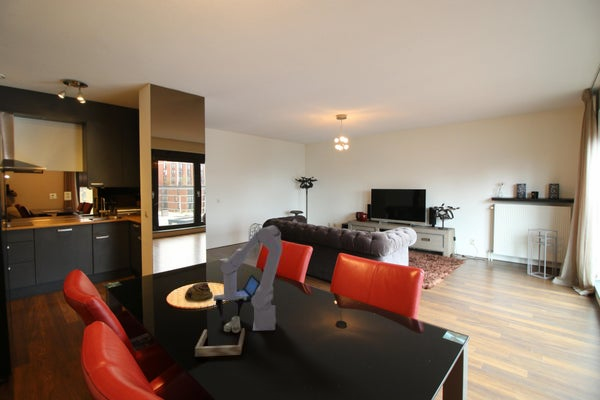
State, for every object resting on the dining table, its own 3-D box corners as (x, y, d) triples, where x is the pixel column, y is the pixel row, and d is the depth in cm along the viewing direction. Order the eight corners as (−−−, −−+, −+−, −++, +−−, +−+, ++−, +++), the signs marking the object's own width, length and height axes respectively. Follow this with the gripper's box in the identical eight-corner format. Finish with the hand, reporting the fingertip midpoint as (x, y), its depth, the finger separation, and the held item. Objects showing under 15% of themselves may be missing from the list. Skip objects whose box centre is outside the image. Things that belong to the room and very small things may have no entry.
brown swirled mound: (208, 301, 146) (208, 286, 145) (180, 301, 146) (180, 286, 146) (216, 292, 159) (216, 278, 159) (190, 291, 159) (190, 277, 159)
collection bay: (244, 335, 113) (244, 328, 113) (240, 354, 100) (240, 346, 100) (204, 336, 112) (204, 329, 111) (195, 356, 99) (195, 348, 98)
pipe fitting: (224, 335, 114) (240, 332, 115) (223, 326, 113) (240, 323, 115) (224, 326, 121) (239, 323, 123) (223, 317, 121) (239, 314, 123)
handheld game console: (229, 293, 157) (229, 277, 157) (251, 289, 164) (251, 274, 163) (236, 303, 144) (236, 286, 143) (260, 299, 150) (261, 282, 149)
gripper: (247, 282, 130) (247, 310, 131) (215, 283, 129) (215, 311, 129) (245, 288, 123) (245, 318, 124) (212, 289, 122) (212, 319, 122)
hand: (230, 315), depth 126 cm, fingers open, 7 cm apart
